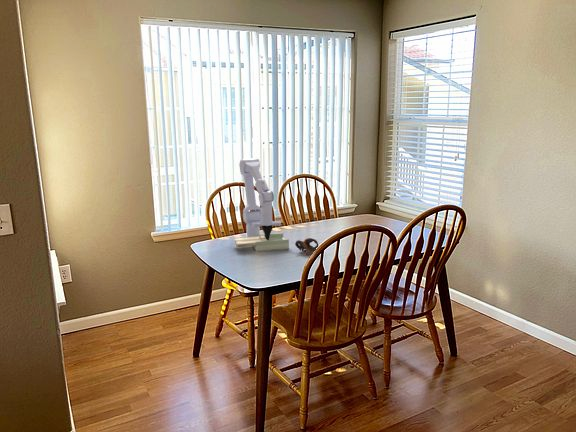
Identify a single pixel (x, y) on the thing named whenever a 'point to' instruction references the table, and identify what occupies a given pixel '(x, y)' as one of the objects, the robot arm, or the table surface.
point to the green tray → (272, 243)
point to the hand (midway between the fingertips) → (267, 239)
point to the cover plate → (249, 241)
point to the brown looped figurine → (306, 245)
